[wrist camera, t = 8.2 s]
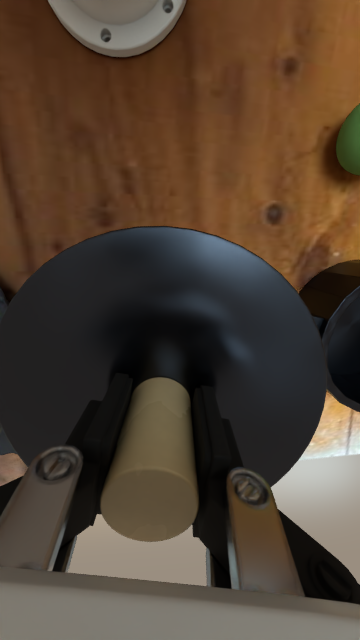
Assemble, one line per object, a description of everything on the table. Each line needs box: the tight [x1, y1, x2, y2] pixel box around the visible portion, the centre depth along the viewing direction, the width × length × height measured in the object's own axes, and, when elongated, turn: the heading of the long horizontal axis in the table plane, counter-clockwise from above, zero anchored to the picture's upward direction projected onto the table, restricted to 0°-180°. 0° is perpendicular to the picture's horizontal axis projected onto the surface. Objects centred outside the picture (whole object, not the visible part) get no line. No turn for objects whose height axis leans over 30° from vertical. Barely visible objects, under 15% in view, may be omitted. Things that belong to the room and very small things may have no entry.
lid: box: [0, 226, 327, 542], centre depth 10 cm, size 16×16×6 cm
